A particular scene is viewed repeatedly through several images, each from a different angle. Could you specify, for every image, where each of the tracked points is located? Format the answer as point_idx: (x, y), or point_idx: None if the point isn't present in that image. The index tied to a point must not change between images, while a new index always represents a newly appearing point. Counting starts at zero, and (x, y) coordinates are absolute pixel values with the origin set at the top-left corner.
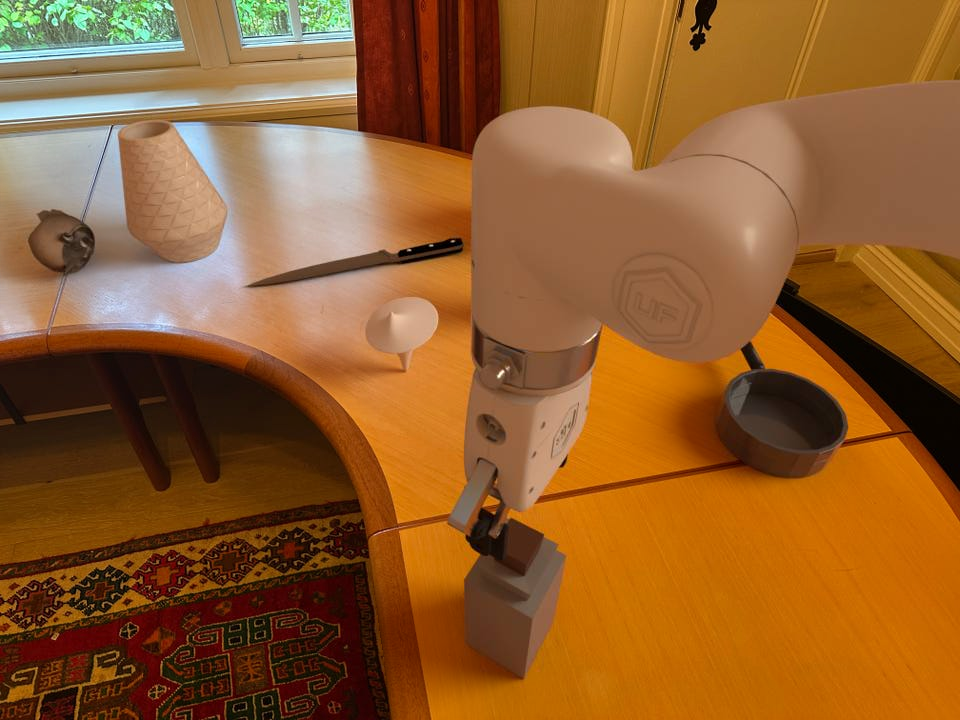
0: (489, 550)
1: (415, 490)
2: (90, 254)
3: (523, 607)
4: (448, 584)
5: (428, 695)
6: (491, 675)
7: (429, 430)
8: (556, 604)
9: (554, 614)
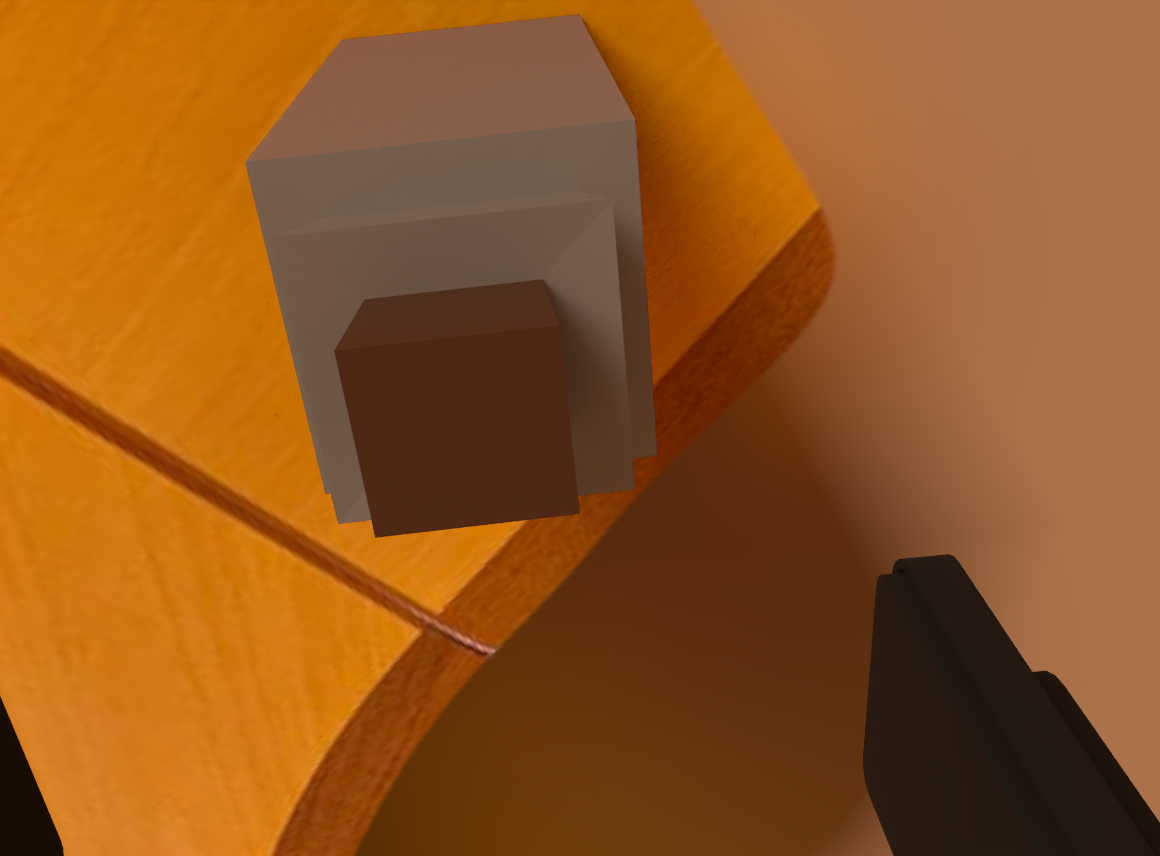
0: (1073, 715)
1: (295, 665)
2: None
3: (613, 185)
4: None
5: (787, 237)
6: None
7: (88, 771)
8: (326, 64)
9: (338, 50)
